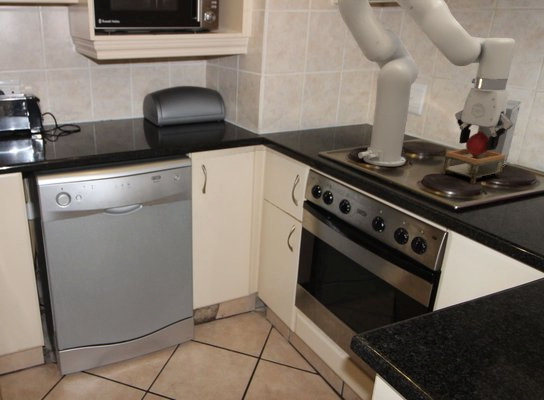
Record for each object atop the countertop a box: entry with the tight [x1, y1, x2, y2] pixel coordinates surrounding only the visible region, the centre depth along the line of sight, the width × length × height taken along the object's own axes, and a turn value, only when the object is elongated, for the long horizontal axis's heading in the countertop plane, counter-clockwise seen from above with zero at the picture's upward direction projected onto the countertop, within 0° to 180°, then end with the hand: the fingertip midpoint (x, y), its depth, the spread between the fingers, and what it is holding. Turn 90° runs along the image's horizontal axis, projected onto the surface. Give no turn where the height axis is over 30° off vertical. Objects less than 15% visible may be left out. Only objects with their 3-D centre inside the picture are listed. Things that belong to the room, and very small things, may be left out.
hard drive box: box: [476, 99, 522, 176], centre depth 146 cm, size 16×8×20 cm, turn 139°
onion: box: [465, 129, 489, 157], centre depth 138 cm, size 6×6×8 cm
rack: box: [441, 147, 506, 185], centre depth 141 cm, size 12×10×7 cm
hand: (477, 145), depth 139 cm, fingers open, 7 cm apart
